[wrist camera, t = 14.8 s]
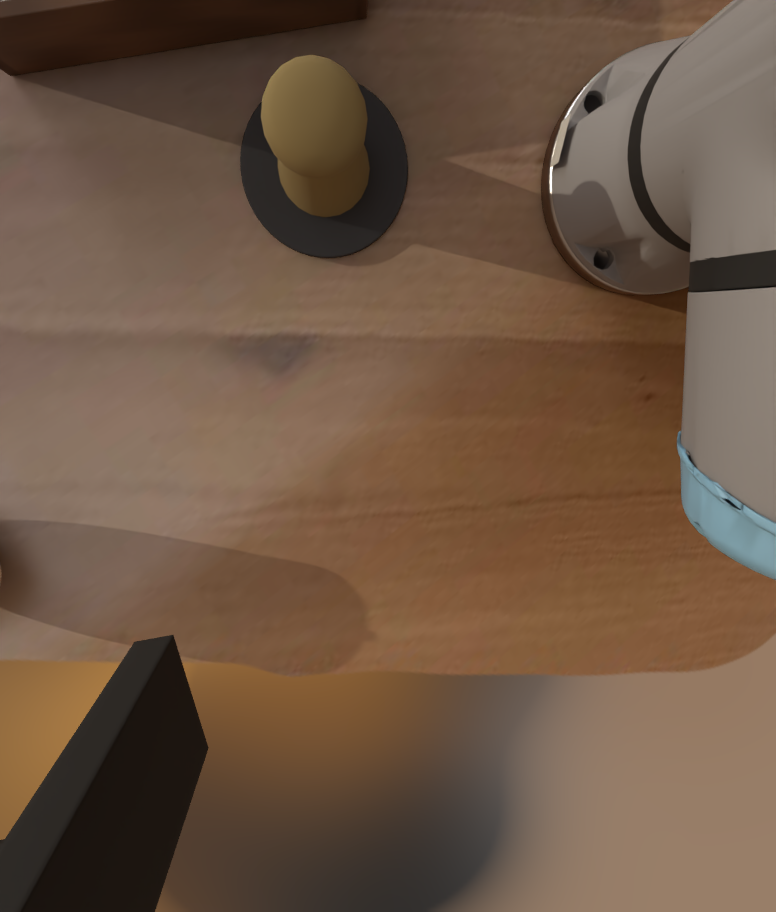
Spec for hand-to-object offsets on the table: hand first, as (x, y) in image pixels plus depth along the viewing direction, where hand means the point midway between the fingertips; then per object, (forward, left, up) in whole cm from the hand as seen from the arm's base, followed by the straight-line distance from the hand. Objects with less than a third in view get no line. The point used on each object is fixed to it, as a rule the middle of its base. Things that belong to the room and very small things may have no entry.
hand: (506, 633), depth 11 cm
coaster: (+2, -16, -31) cm, 35 cm away
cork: (+2, -16, -30) cm, 34 cm away
